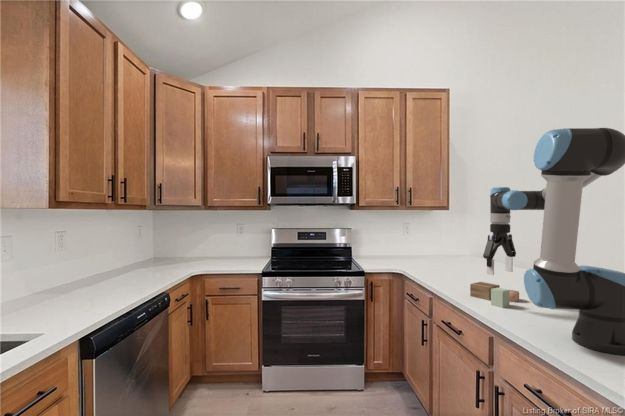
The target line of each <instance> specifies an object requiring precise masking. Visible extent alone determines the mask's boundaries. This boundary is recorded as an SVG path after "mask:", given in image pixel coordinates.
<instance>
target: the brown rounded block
mask: <svg viewBox="0 0 625 416" xmlns="http://www.w3.org/2000/svg"><path fill="white" fill-rule="evenodd" d="M508 290H509V303H519V302H520V292H519V291H517V290H514V289H508Z"/></svg>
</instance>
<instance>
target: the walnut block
mask: <svg viewBox="0 0 625 416" xmlns="http://www.w3.org/2000/svg"><path fill="white" fill-rule="evenodd" d="M469 287H470V288H469V296H470V297H473V298H476V299H481V300H486V301H491V289H493V288H501V287H500V284H495V283H491V282H484V281H478V282H473V283H470V286H469Z"/></svg>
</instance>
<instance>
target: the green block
mask: <svg viewBox="0 0 625 416" xmlns="http://www.w3.org/2000/svg"><path fill="white" fill-rule="evenodd" d="M509 290H510V289H507V288H502V287H500V288H493V289H491V300H490V306H494V307H497V308H501V309H504V308H508V307H510V302H509Z"/></svg>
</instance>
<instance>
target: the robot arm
mask: <svg viewBox="0 0 625 416" xmlns="http://www.w3.org/2000/svg"><path fill="white" fill-rule="evenodd" d="M533 152H534V153H533V162H534V167H536V169H538V170H540V172H541V173H540V174H541V176H540V177H542V178H543V179H544V180H545V181H546V184H545V185H546V186H545V187H544V188H542V190H511V188H510V187H508V186H499V187H498V186H497V187H492V188H491V189H490V195H489V197H490V202H489V203H490V207H489V209H490V210H489V211H490V213H489V214H490V215H489V216H490V217H489V222H490V226H489V231H490V233H492V234H488V235H487V241H486V245H485V248H484V251H483V254H482V258H483V259H485V260H486V275H490V276H494V275H495V259H494V256H495V255H496V252H497V250H498V249H499V247H501V246H502V249H503V251H504V253H505V257H504V258H505V259H504V260H505V264H504V265H505V269H504V270H505V272H510V273H513V271H514V269H513V266H514V265H513V263H514V262H513V261H514V260H513V259H514V258H515V257H516V255H517V252H516V248H515V244H514V242H513V235H512V234H511V224H510V223H511V211H543V221H542V229H541V232H542V233H541V243H540V244H541V245H540V254H539V255H540V256H539V258H537V259H536V260H534V261H533V268H529V269H526V271H525V272H524V274H523V285H524V288H525V289H524V290H525V292H526V294H527V297H528V299H529V300H530V301H531V303H532V304H533V305H535V306H536V307H538V308H543V309H550V310H555V309H556V310H578V312H579V313H578V317H577V319H576V322H575V324H574V326H573V329H572V332H571V339H572V341H573V342H574V343H576V344H577V345H580V346H582V347H585V348H588V349H589V350H593V351H598V352H601V353H605V354H606V353H607V354H610V355H611V354H613V355H618V356H619V355H621V356H625V272H622V271H618V270H614V269H609V268H605V267H604V268H603V267H598V266H589V265H582V264H581V265H578V264H577V263H576V254H577V244H578V236H579V235H578V234H579V226H580V215H581V205H582V198H583V197H582V195H583V189H584V188H585V187H587V186H588V185H590V184H591V183H593V182H594V181H596V180H598V179H599V178H601V177H605V176H609V175H611V174H613V173H615V172H617V171H618V170H619V169H621V168H623V166H624V165H625V134H624V133H622V132H621V131H619V130H618V129H614V128H610V127H609V128H608V127H594V128H589V127H587V128H586V127H585V128H582V127H581V128H579V127H578V128H573V127H570V128H567V127H566V128H557V129H551V130H548V131H546V132H545V133H543V135H542V136H540V138H539V140H538V141H537V143H536V145H535V149H534V151H533Z"/></svg>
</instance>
